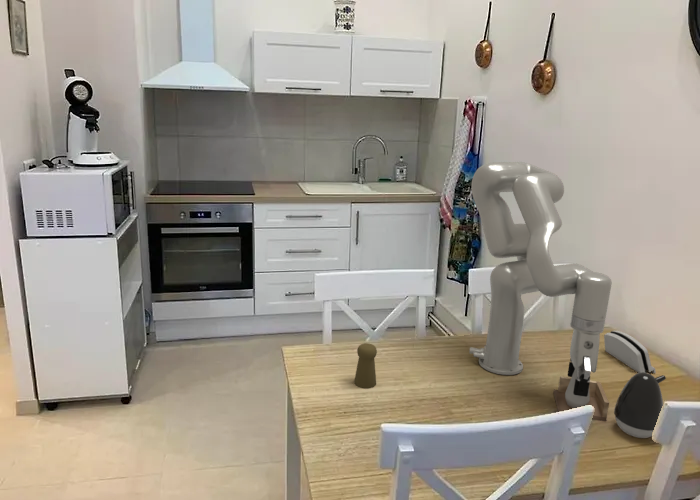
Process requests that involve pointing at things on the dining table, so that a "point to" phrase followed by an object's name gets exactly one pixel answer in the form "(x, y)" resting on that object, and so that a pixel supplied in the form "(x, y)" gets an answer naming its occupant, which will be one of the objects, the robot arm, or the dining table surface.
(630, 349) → the white rounded block
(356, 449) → the dining table surface
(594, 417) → the corner tray
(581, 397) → the salt shaker
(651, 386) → the pump dispenser
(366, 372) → the brown pawn
